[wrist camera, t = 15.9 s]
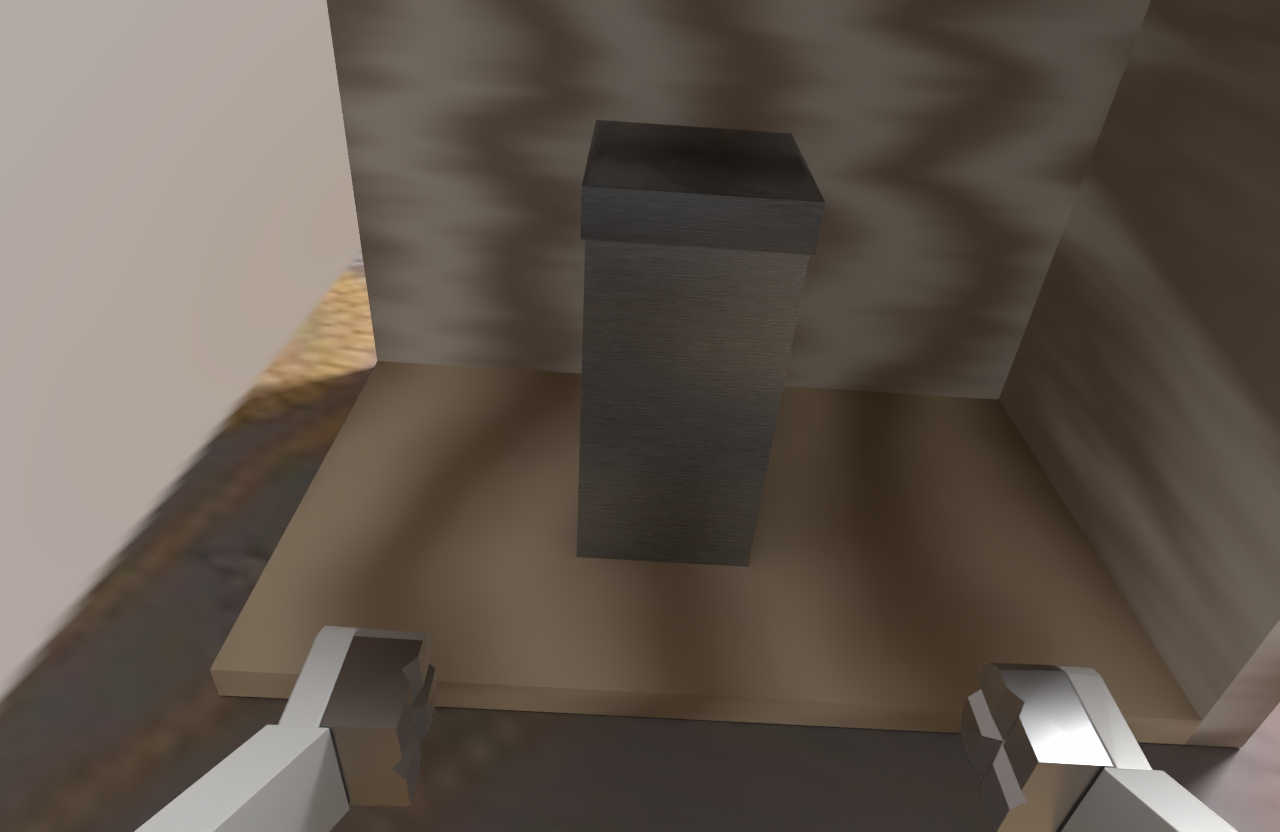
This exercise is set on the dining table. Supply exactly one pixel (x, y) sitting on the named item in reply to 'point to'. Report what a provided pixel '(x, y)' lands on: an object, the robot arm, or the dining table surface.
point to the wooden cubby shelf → (824, 364)
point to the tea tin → (686, 333)
